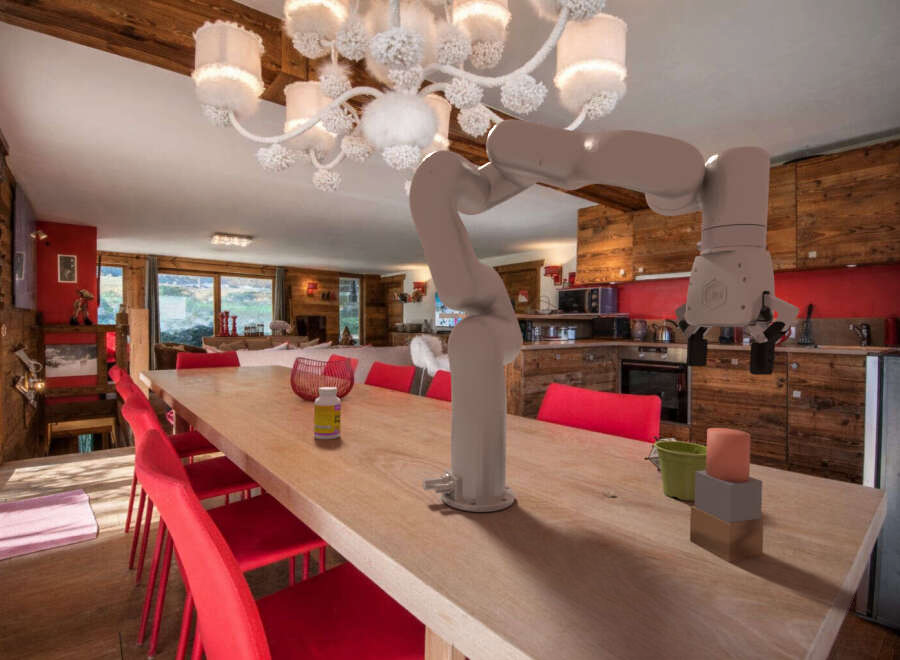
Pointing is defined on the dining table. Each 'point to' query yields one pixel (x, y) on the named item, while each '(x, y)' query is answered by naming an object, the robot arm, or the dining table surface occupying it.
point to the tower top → (728, 498)
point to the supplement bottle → (327, 414)
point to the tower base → (726, 536)
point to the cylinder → (728, 454)
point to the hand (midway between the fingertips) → (726, 369)
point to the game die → (653, 454)
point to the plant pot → (680, 467)
